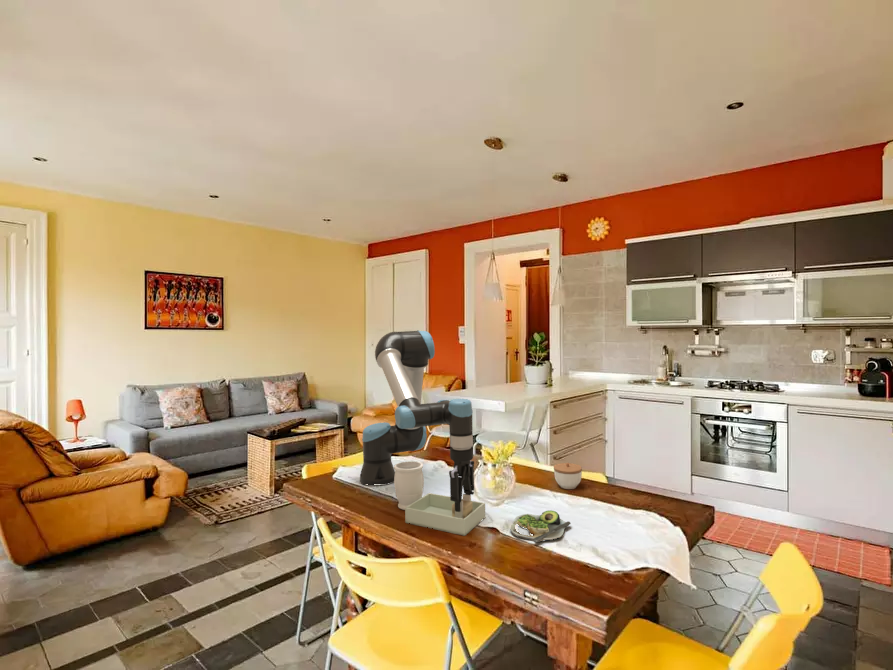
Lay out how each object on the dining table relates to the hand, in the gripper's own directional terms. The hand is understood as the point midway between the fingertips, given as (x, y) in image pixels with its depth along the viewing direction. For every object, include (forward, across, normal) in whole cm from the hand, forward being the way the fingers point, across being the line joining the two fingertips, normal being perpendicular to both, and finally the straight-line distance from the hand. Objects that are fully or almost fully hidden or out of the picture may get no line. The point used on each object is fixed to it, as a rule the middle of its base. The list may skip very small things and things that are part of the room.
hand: (463, 517), depth 161 cm
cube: (0, 0, 0) cm, 1 cm away
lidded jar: (+3, -49, +21) cm, 53 cm away
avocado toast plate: (+3, -7, +24) cm, 25 cm away
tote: (+2, 0, -7) cm, 7 cm away
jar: (+2, -5, -24) cm, 25 cm away
